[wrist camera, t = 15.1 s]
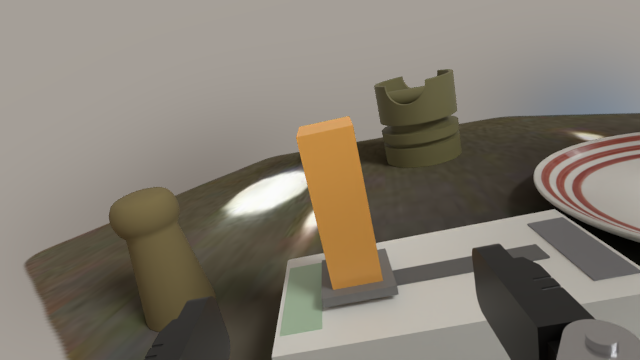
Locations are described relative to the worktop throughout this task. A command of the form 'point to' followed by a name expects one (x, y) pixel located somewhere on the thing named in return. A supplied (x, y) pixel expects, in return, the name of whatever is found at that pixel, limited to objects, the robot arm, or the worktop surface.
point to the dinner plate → (596, 183)
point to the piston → (419, 121)
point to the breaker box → (450, 293)
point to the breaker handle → (343, 215)
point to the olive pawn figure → (159, 254)
